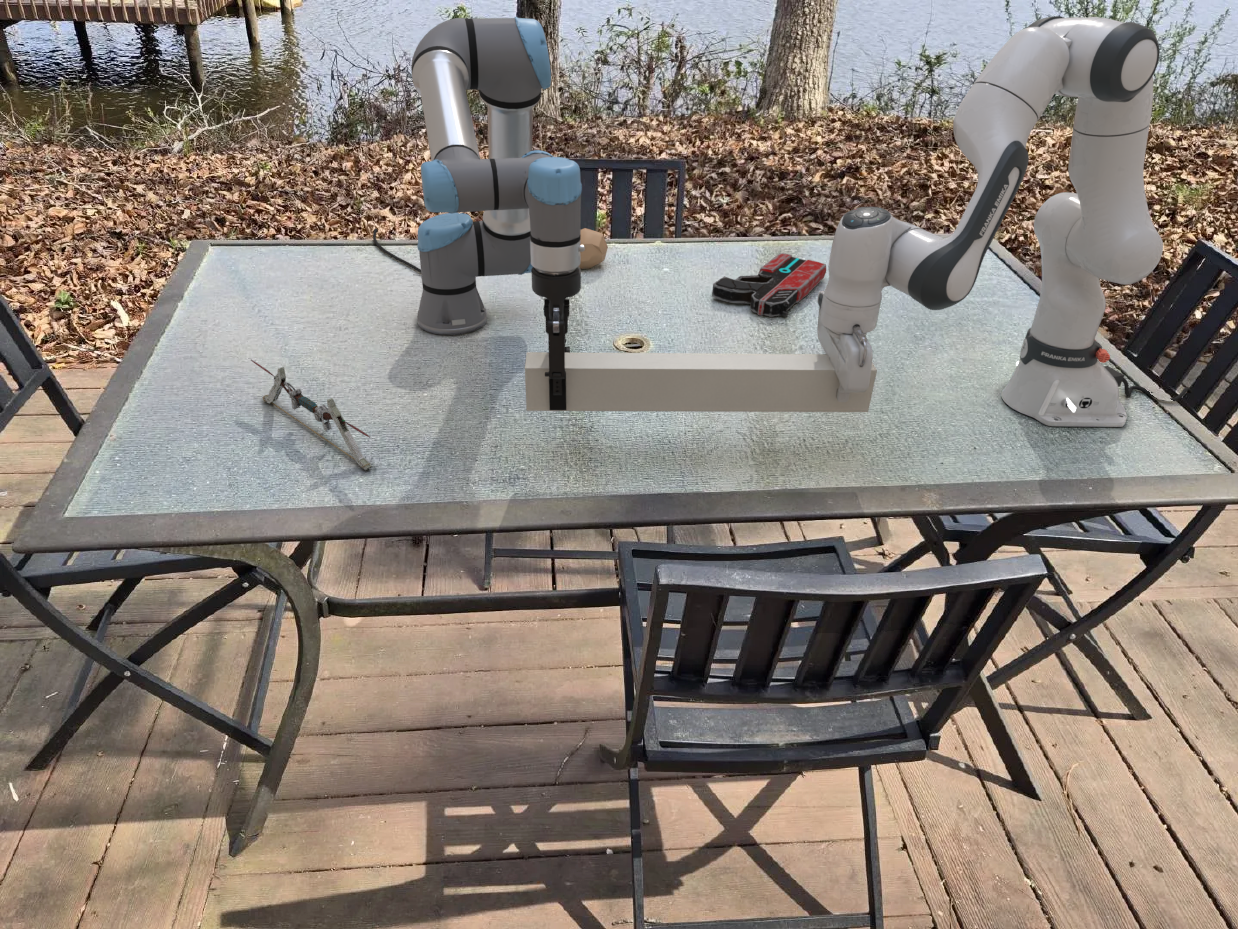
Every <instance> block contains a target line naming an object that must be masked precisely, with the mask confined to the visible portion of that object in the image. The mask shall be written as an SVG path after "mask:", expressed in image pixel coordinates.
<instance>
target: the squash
mask: <svg viewBox="0 0 1238 929" xmlns="http://www.w3.org/2000/svg"><path fill="white" fill-rule="evenodd" d="M580 245H584V247H585V250H584V251H583V252H580V265H579V267H580V269H581V270H586V269H587V270H589V269H591V268H593V267H595V266H597V265H599V264H601V263H603V262H604V261H605V259H606V256H607V253H608V248H609V246H608V244H607V241H606V239H605V236H604V234H603V232H599V231H597V230H593V229H590V228H586V227H584V228H582V229H581V239H580Z"/></svg>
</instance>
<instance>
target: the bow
mask: <svg viewBox="0 0 1238 929" xmlns="http://www.w3.org/2000/svg"><path fill="white" fill-rule="evenodd" d="M250 361H251V362H252V363H253V364H255V365H256V366H257V367H259V368H260V369H262V370H263V371H265V372H266V373H268V374H269V375H271V376H272V377H273V385H272V386H271V388H270V389H269V391H268V394H265V395H263V396H261V398H262V400H263V402H265V403H267V404H269V405H270V404H272V405H273V406H275V407H277V409H279V410H281V411H282V412H284V413H285V414H286V415H288V416H289V417H291V418H292V419H294V420H295V421H296V422H298V423H300V424H301V425H302V426H304V427H306V428H307V429H308V430H309V431H312V432H313V433H314V434H316V435H317V436H318V437H320V438H322V439H323V440H324V441H326V442H328V443H329V444H331V445H332V446H333V447H335V448H336V449H338V450H339V451H340V452H342V453H344V454H345V455H347V456H348V457H349V458H351V459H353V460H354V461H355V462H356V463H357V464H358V465H357V466H359V467H360V468H361V469H363V470H365V471H368V469H369V468H370V469H372V468H373V465H371V462H369V461H368V460H367V459H366V458H365V456H364V455H363V453H362V452H361V449H360V447H359V445H358V444H357V442H356V440H355V439H354V436H353V435H352V434H351V432H350V429H349V427H350V428H351V429H354V430H355V431H357V432H359V433H361V434H362V435H363V436H365V437H368V438H371V436H370V435H369V434H368V433H366V432H364V431H363V430H362V429H360V428H358V427H357V426H355V425H353V424H351V423H348V422H347V421H346V420H345V418H344V417H343V415H342V413H341V411H340V409H339V408H338V406H337V403H336V402H335V400H334V398H333V397H330V398H327V399H326V403H327V405H326V404H322V405H320V406H318V404H317V403H316V402H315V401H313V400H311V399H310V398H309V397H307V396H304V395H303V394H302V393H303V392H302V389H301V388H297V389H296V388H295V387H294V386H293V385H292V384H291V383H290V382H288V381H286V380H287V375H286V370H285V367H284V366H282V367H278V368H277V373H276V375H274V374H273V373H272V372H271V371H270V370H269V369H266V368H265V367H264V366H263V365H262V364H260V363H258V362H257V361H255V360H253V359H250ZM282 390H285V392H286V393H287V394H288V397H289V399H290V401H291V409H292V410H293V411H295V410H297V409H300V408H301V407H302V408H304V409H306V410H307V411H309V412H310V413H312V414H313V415H314V418H315V421H317V422H318V423H319V422H320V423H322V427H323V431H325V432H327V431H330V430H333V429H332V425H331V422H330V420H332V421H333V422H334V424H335V425H336V427H337V430H338V431H339V433H340V435H341V437H342V440H343V441H344V443H345V445H346V446H347V448H348V450H349V452H350V454H351V455H350V454H348V453H347V452H345V451H344V450H343V449H341V448H340V447H338V446H337V445H336V444H334V443H332V442H331V441H330V440H328V439H326V438H325V437H324V436H322V435H321V434H319V433H318V432H316V431H315V430H314V429H312V428H311V427H310V426H308V425H306V424H305V423H303V422H302V421H300V420H299V419H297V417H295V416H293V415H292V414H291V413H289V412H287V411H285V410H284V409H282V408H281V407H280V406H278V405H277V404H275V402H276V401H278V399H279V397H280V395H281V393H282ZM348 426H349V427H348Z"/></svg>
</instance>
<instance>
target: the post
mask: <svg viewBox="0 0 1238 929" xmlns="http://www.w3.org/2000/svg"><path fill="white" fill-rule="evenodd" d="M565 371H566V410H550V404H549V377H545V372H549V351H546V352H545V351H540V352H539V351H527V352H526V355H525V364H524V382H525V385H524V386H525V408H526V409H525V410H526V412H677V413H678V412H679V413H680V412H681V413H682V412H683V413H684V412H690V413H692V412H693V413H694V412H698V413H699V412H702V413H705V412H707V413H709V412H710V413H711V412H713V413H717V412H718V413H719V412H721V413H723V412H724V413H727V412H728V413H730V412H731V413H733V412H734V413H744V412H745V413H752V412H753V413H869V410H870V406H871V402H872V401H871V400H872V397H873V392H874V386H875V381H876V378H877V373H878V370H877V367H876V366H875V364H874V363H873V361H872V368H871V375H870V382H869V387H868V389H867V390H866V391H865V392H857V393H853V392H850V394H849V400H848V401H847V402H838V400H837V398H836V391H837V389H839V386H840V383H839V379H838V377H837V375H836V373H835V370H834V368H833V366H832V364H831V362H830V360H829V358H828V356H827V354H826V353H819V354H818V353H713V352H712V353H711V352H710V353H709V352H708V353H704V352H703V353H701V352H699V353H698V352H697V353H696V352H695V353H694V352H690V353H689V352H672V353H671V352H570V353H568V352H565Z"/></svg>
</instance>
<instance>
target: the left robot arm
mask: <svg viewBox="0 0 1238 929" xmlns="http://www.w3.org/2000/svg"><path fill="white" fill-rule="evenodd" d="M412 55H413V56H412V59H411V66H410V67H411V68H410V69H411V70H410V72H411V78H412V79H411V80H412V84H413V86H414V89H415V90H416V93H418V94H419V96H420V97H421V104H422V111H423V117H424V124H425V129H426V136H427V144H428V149H429V154H430V155H429V156H430V160H428V161H424V162H422V163H421V165H420V174H421V175H420V177H421V186H422V188H421V189H422V196H423V202H424V206H425V209H426V210H427V211H428V212H430V213H440V214H437V215H434V216H431V217H429V218H427V219H426V220H424V221H423V222H421V224H419V226H418V229H417V247H416V248H417V250H418V252H419V253H418V254H419V263H420V268H419V267H417V266H416V265H414V264H412V263H411V262H409V261H407V260H404V259H403V258H401V257H399V256H397V255H395V254H393V253H392V252H390V251H389V250H387V249H385V248H384V247H383V246H382V245H381V244H380V243H379V241H378V240H377V233H379V230H378V228H377V227H375V228H374V229H373V233H372V240H373V243H374V245H375V246H376V247H377V248H379V249H380V250H381V251H382V252H383V253H384V254H386V255H387V256H389V257H391V258H392V259H394V260H395V261H398V262H399V263H402V264H404V265H406V266H408V267H409V268H410V269H413V270H415V271H416V272H418V273H420V275H421V276H420V277H421V284H422V292H421V297H420V302H419V305H418V310H417V316H416V318H417V325H418V326H419V328H420V329H421V330H423V331H424V332H427V333H430V334H433V335H440V336H459V335H465V334H469V333H473V332H476V331H477V330H480V329H481V328H483V327H484V326H485V325H486V323H487V320H488V316H487V310H486V306H485V304H484V302H483V299H482V298H481V295H480V293H479V291H478V288H477V278H476V277H479V278H481V277H495V276H509V275H511V276H512V275H519V276H522V275H524V274H531V288H532V289H531V290H532V292H533V294H535V295H536V296H538V297H541V298H543V303H544V304H543V316H544V317H545V333H546V334H547V336H548V352H549V372H545V377H549V404H550V410H566V371H565V352H568V353H571V347H570V346H566V344H567V339H566V334H568V331H569V316H570V298H572V297H574V296H576V295H578V293H579V292H580V291H581V289H582V269H580V267H579V265H580V252H583V251H584V250H585V247H584V245H580V239H581V228H582V227H581V225H582V223H581V222H582V220H581V219H582V216H581V215H582V213H581V211H582V208H581V207H582V192H583V184H582V182H581V181H582V180H581V169H580V166H579V163H577V162H576V161H575V160H572V159H569V158H566V157H561V156H554V155H552V154H551V153H549V152H547V151H545V150H538V149H537V150H535V149H533V124H534V122H533V120H534V119H533V118H534V107H535V106H538V104H539V103H540V102H541V99H542V90H547V89H549V88H551V86H552V85H551V84H552V72H551V71H552V70H551V61H550V55H549V50H548V43H547V39H546V35H545V31H544V28H543V26H542V24H541V23H540V22H539V21H538V20H537V19H535V18H524V17H523V18H522V17H518V16H514V17H490V18H489V17H483V18H482V17H481V18H480V17H478V18H477V17H476V18H475V17H472V18H469V17H468V18H467V17H466V18H465V17H455V18H451V19H447V20H445V21H442V22H440V23H438V24H437V25H435V26H434V27H432V28H431V29H430V30H429V31H427V33H425V35H424V36H423V37H422V39H420V41H419V42H418V44H417V46H416V48H415V50H414V52H413V54H412ZM467 90H469V91H475V90H476V91H478V96H479V99H480V100H481V101H482V102H483V103H484V104H485V105H487V134H488V135H487V142H488V144H487V145H488V158H481V156H480V152H479V151H480V150H479V146H478V141H477V137H476V132H475V127H474V122H473V118H472V113H471V108H470V104H469V99H468V95H467ZM471 212H483V213H482V220H477V221H473V218H472V217H471V216H470V215H469V214H468V213H471Z"/></svg>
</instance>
